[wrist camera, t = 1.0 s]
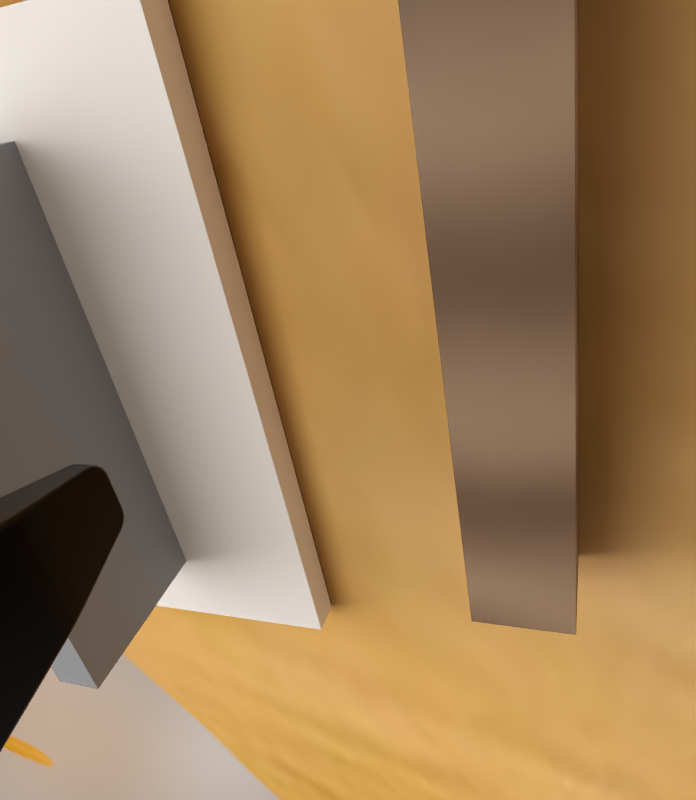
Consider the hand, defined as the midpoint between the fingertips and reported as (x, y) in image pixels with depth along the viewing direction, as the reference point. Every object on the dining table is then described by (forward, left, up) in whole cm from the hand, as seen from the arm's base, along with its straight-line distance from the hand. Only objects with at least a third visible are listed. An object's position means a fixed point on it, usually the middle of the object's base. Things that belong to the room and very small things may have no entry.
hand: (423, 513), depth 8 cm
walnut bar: (0, 0, -11) cm, 11 cm away
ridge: (-4, +14, -11) cm, 18 cm away
